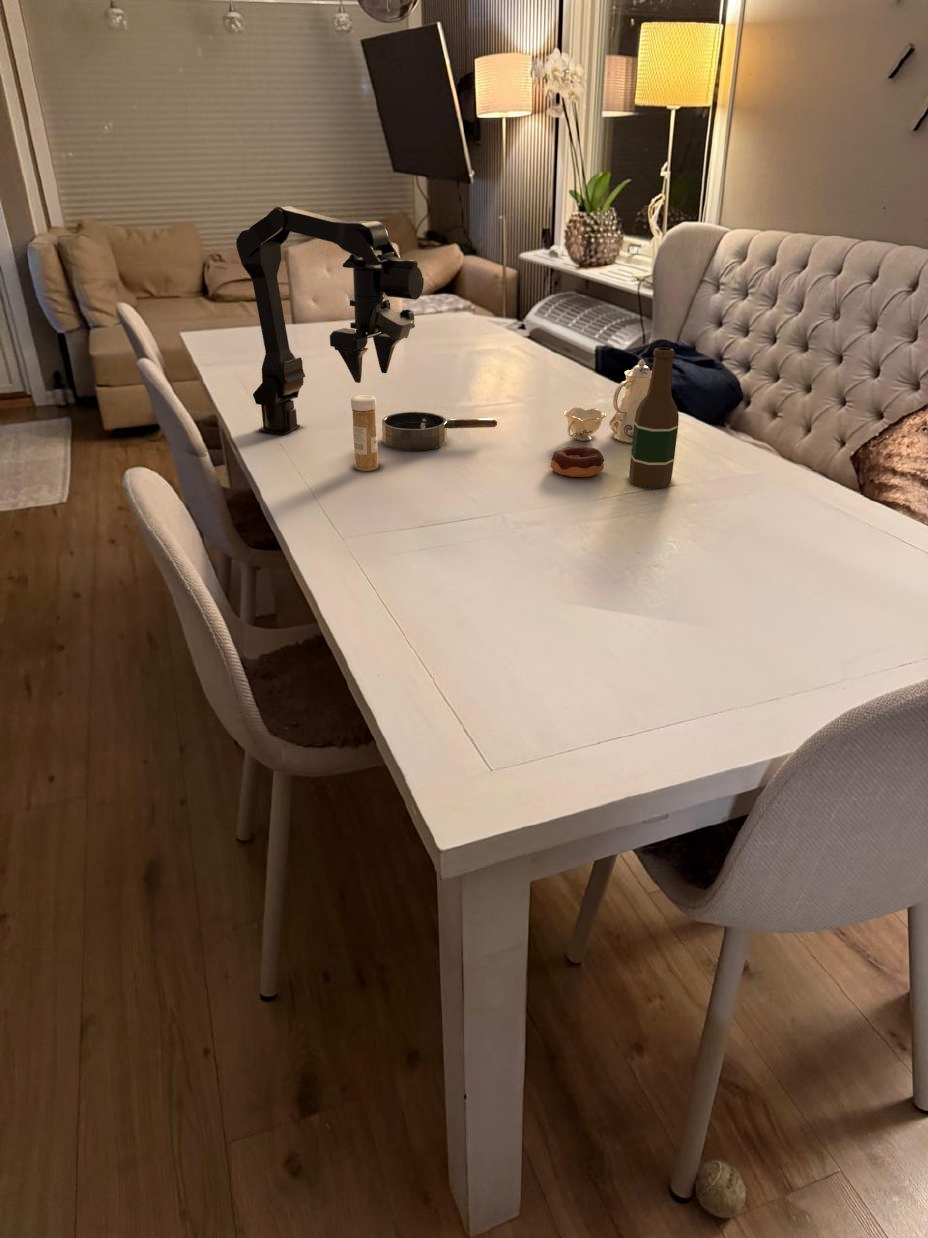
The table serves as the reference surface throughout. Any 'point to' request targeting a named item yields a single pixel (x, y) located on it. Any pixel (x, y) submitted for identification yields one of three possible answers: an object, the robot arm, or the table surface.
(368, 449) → the sprinkles bottle
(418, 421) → the pan
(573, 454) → the donut
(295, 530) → the table surface
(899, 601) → the table surface
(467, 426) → the pan handle
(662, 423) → the beer bottle
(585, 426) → the chinaware
